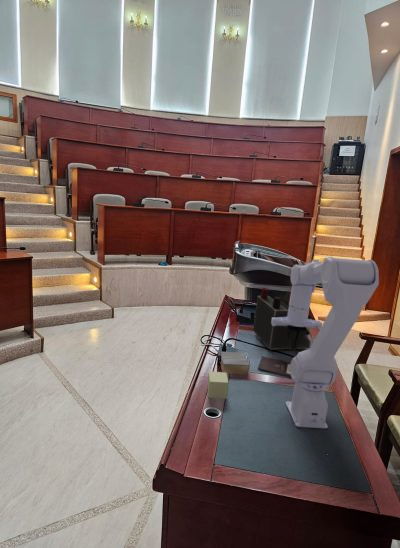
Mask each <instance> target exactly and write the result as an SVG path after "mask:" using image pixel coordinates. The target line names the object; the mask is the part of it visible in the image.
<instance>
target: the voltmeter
mask: <svg viewBox="0 0 400 548" xmlns="http://www.w3.org/2000/svg"><path fill="white" fill-rule="evenodd" d="M256 298H257V299H256V304H255V305H256V307H255V314H254V321H253V329H252V331H253V332H254V333H255V334H256V336H257V338H259V339H260V340H261V342H263V344H264V346H266V347H267V348H268V350H269V349H271V350H285V349H286V350H288V349H289V350H290V348H289V339H288V334H287V330H286V327H285V326H279V325H276V326H272V324H271V320H272V317H274V318H277V317H287V315H288V309H289V304H288V305H287V303H285V302H284V301H282V300H281V299H282V297H280V296H274V297H273V298H272V297H271V296H269V288H267V287H263V288H261V293H260V295H257V297H256ZM306 330H307V332H306V334H305V335H304V336H303V337H302V339H301V340H300V342H299V343H298V345H297V348H296V349H298V350H299V351H305V349H310V348H311V345H312V344H311V343H312V342H311V340H310V338H309V337H308V336H309V335H310V334H311V333H310V331H309V330H308V327H306ZM271 350H270V351H271Z"/></svg>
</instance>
